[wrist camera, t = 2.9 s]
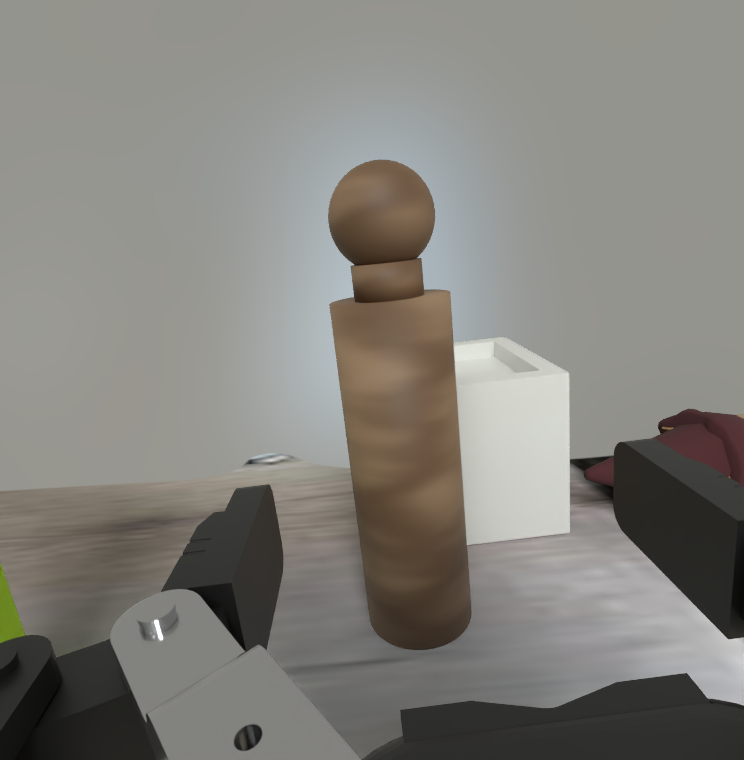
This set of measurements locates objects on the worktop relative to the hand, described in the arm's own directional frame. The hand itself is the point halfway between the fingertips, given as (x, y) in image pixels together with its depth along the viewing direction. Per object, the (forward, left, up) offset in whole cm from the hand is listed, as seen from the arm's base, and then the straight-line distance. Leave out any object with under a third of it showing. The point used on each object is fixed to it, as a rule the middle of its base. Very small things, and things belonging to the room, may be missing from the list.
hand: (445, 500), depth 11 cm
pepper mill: (0, +11, -12) cm, 17 cm away
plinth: (+4, +22, -12) cm, 26 cm away
